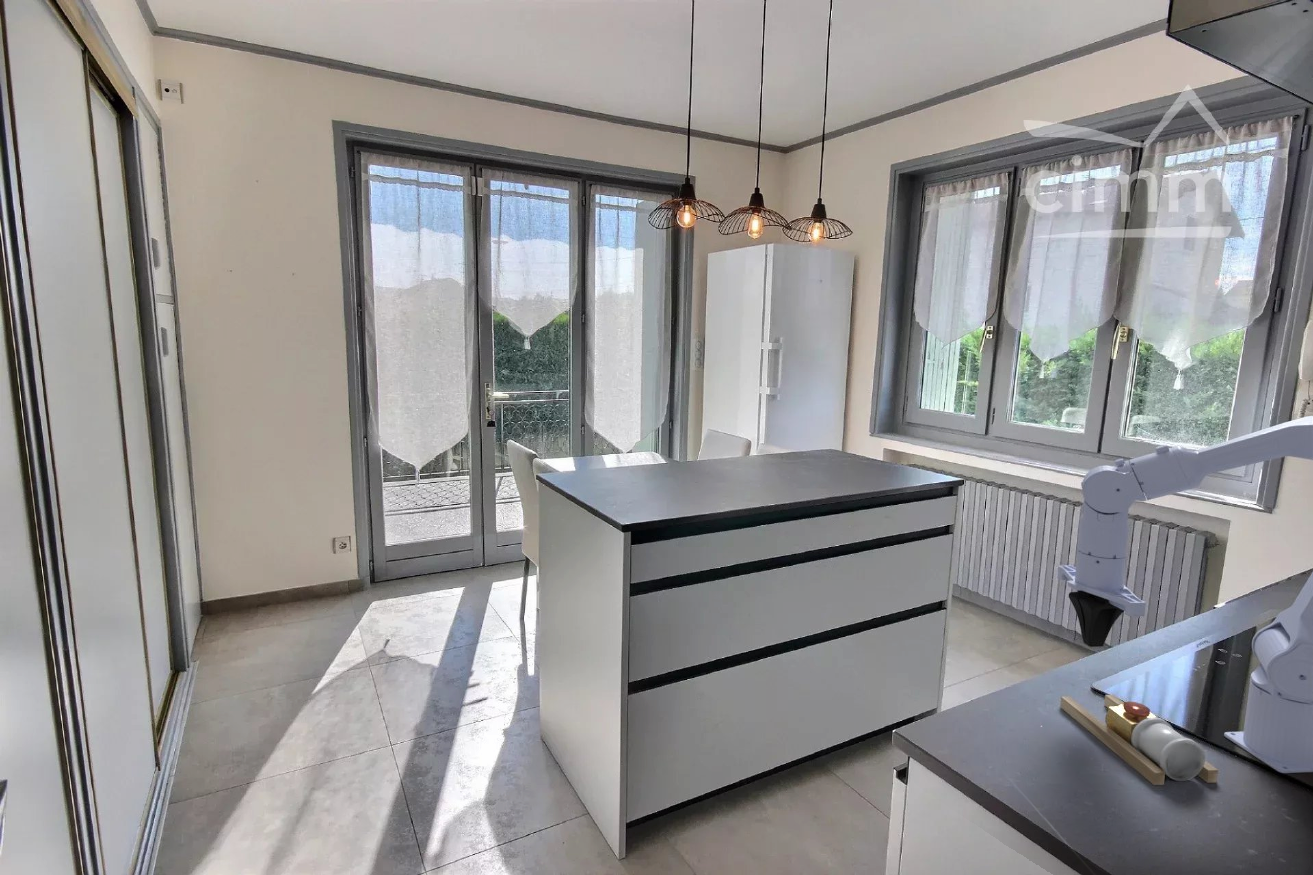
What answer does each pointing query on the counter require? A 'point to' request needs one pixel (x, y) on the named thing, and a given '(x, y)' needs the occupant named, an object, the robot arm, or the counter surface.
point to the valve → (1126, 718)
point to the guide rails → (1124, 742)
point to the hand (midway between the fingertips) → (1093, 644)
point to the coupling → (1168, 749)
